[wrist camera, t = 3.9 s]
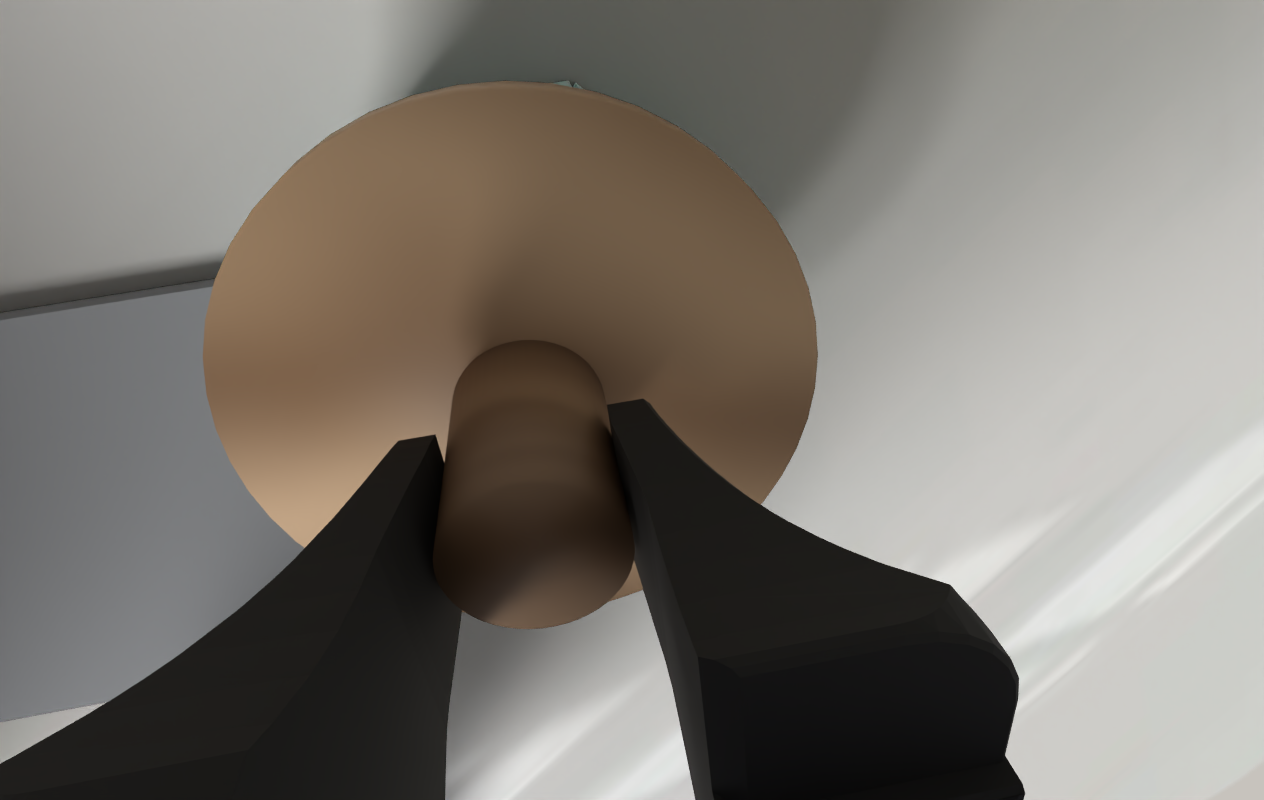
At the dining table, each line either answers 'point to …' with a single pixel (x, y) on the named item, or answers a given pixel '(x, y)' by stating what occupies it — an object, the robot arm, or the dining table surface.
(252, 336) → the lid
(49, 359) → the mat
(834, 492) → the dining table surface
